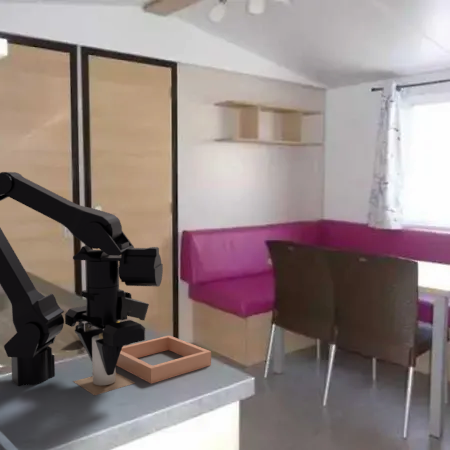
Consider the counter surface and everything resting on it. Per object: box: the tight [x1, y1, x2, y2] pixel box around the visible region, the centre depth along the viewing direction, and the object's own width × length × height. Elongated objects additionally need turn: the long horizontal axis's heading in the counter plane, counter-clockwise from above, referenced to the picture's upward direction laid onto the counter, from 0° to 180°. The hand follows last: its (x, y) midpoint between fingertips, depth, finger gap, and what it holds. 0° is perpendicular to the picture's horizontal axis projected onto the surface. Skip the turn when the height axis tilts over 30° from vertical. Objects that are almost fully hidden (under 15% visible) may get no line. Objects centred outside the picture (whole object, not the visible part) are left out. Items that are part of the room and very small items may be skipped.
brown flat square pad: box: [72, 372, 136, 397], centre depth 93 cm, size 8×8×1 cm
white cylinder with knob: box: [91, 333, 117, 386], centre depth 92 cm, size 4×4×9 cm
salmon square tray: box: [116, 335, 212, 384], centre depth 102 cm, size 14×14×4 cm
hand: (104, 371), depth 92 cm, fingers closed on white cylinder with knob, 4 cm apart
